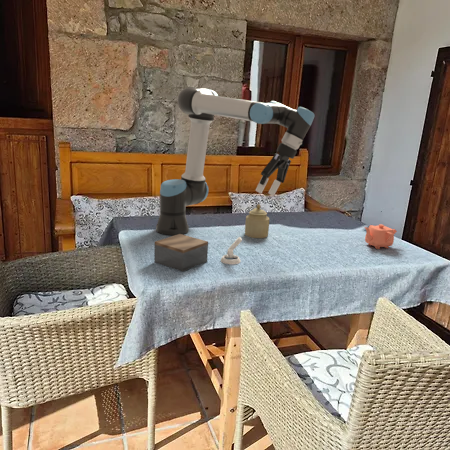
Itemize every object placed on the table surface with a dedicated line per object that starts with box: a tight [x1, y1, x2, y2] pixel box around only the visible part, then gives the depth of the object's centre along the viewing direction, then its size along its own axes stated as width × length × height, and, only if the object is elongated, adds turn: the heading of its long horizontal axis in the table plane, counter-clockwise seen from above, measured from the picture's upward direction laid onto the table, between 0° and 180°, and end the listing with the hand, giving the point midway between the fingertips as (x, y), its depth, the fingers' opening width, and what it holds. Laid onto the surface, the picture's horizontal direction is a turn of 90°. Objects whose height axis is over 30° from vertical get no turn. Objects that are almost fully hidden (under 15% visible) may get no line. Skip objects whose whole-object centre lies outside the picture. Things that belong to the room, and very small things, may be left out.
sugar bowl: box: [244, 203, 270, 239], centre depth 197 cm, size 15×11×15 cm
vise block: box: [153, 234, 209, 273], centre depth 157 cm, size 14×14×8 cm
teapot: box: [364, 223, 397, 250], centre depth 189 cm, size 14×12×10 cm
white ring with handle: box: [220, 236, 243, 266], centre depth 160 cm, size 8×12×7 cm
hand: (264, 193), depth 172 cm, fingers open, 13 cm apart
